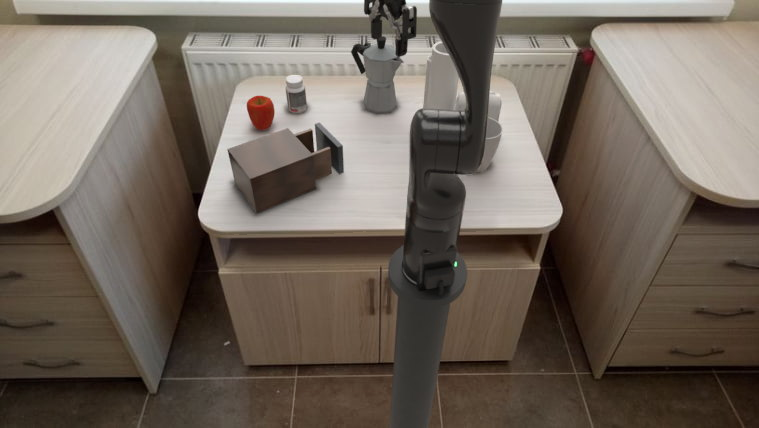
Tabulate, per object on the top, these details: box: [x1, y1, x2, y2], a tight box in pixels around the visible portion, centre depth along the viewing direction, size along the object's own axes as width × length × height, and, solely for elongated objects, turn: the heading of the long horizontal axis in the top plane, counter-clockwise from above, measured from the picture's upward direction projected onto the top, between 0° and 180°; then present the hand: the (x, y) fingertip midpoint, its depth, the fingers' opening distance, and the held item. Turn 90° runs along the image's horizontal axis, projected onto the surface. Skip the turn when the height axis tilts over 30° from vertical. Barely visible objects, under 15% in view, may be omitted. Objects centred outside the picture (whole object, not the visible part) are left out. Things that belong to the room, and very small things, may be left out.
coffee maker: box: [350, 35, 405, 115], centre depth 132 cm, size 15×9×18 cm, turn 56°
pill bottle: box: [285, 74, 308, 114], centre depth 133 cm, size 5×5×8 cm
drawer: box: [293, 122, 345, 181], centre depth 115 cm, size 14×10×7 cm
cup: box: [476, 118, 504, 173], centre depth 118 cm, size 8×8×10 cm
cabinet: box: [226, 127, 317, 214], centre depth 112 cm, size 14×11×9 cm
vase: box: [422, 40, 460, 110], centre depth 127 cm, size 11×7×20 cm, turn 1°
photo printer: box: [455, 90, 502, 122], centre depth 124 cm, size 10×4×12 cm, turn 85°
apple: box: [246, 95, 276, 131], centre depth 128 cm, size 6×6×8 cm
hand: (388, 46), depth 109 cm, fingers open, 8 cm apart
